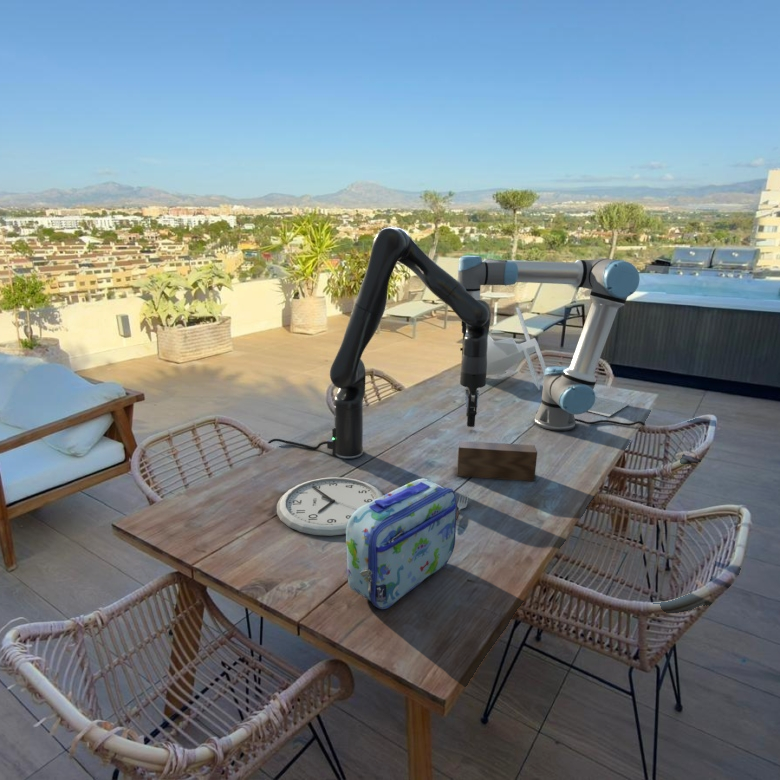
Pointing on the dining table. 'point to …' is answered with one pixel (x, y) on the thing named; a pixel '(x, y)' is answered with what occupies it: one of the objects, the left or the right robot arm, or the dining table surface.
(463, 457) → the bar
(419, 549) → the lunch box
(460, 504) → the fork
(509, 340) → the white plastic object
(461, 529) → the dining table surface
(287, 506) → the wall clock
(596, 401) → the grey wooden board
